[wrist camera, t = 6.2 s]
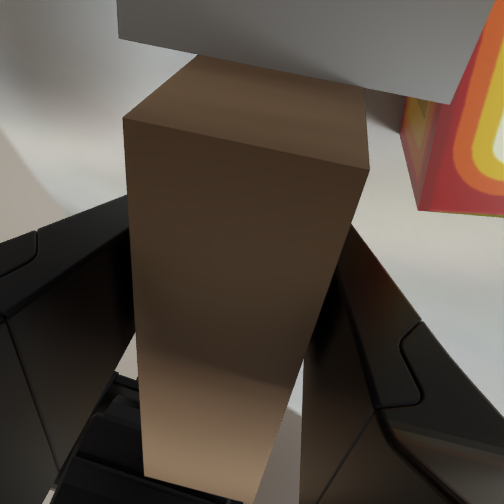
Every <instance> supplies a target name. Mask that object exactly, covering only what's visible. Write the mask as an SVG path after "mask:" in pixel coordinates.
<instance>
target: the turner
mask: <svg viewBox="0 0 504 504" xmlns="http://www.w3.org/2000/svg"><path fill="white" fill-rule="evenodd" d="M494 3H495V0H117V17H118V34H119V39H123V40H128V41H133V42H138V43H143V44H148V45H153V46H158V47H163V48H168V49H173V50H178V51H183V52H188V53H193V54H198V55H197V56H196V57H195V58H194V59H193V60H191V61H190V62H189V63H188V64H186V65H185V66H184V67H183V68H182V69H180V70H179V71H178V72H177V73H176V74H174V75H173V76H172V77H171V78H170V79H168V80H167V81H166V82H165V83H164V84H162V85H161V86H160V87H159V88H158V89H156V90H155V91H154V92H153V93H152V94H150V95H149V96H148V97H147V98H146V99H144V100H143V101H142V102H141V103H139V104H138V105H137V106H136V107H135V108H133V109H132V110H131V111H130V112H129V113H127V114H126V115H125V116H124V117H123V134H124V150H125V167H126V183H127V200H128V216H129V232H130V249H131V265H132V282H133V298H134V315H135V331H136V348H137V363H138V381H139V397H140V414H141V430H142V446H143V463H144V476H147V477H150V478H154V479H158V480H162V481H165V482H169V483H173V484H177V485H180V486H184V487H188V488H192V489H195V490H199V491H203V492H207V493H211V494H214V495H218V496H222V497H226V498H229V499H233V500H237V501H241V502H245V503H248V504H253V501H254V498H255V495H256V493H257V490H258V487H259V484H260V481H261V479H262V475H263V473H264V470H265V467H266V464H267V461H268V459H269V456H270V453H271V450H272V447H273V444H274V442H275V439H276V436H277V433H278V430H279V427H280V424H281V422H282V419H283V416H284V413H285V410H286V407H287V405H288V402H289V399H290V396H291V393H292V390H293V387H294V385H295V382H296V379H297V376H298V373H299V370H300V367H301V365H302V362H303V359H304V356H305V353H306V350H307V348H308V345H309V342H310V339H311V336H312V333H313V330H314V328H315V325H316V322H317V319H318V316H319V313H320V311H321V308H322V305H323V302H324V299H325V296H326V293H327V291H328V288H329V285H330V282H331V279H332V276H333V274H334V271H335V268H336V265H337V262H338V259H339V256H340V254H341V251H342V248H343V245H344V242H345V239H346V237H347V234H348V231H349V228H350V225H351V222H352V219H353V217H354V214H355V211H356V208H357V205H358V202H359V199H360V197H361V194H362V191H363V188H364V185H365V182H366V180H367V177H368V174H369V171H370V165H369V151H368V138H367V124H366V110H365V96H364V88H368V89H373V90H378V91H383V92H388V93H393V94H398V95H403V96H408V97H413V98H418V99H423V100H428V101H433V102H438V103H443V104H448V105H450V103H451V101H452V98H453V96H454V94H455V92H456V89H457V87H458V85H459V82H460V80H461V78H462V76H463V73H464V71H465V69H466V67H467V64H468V62H469V60H470V57H471V55H472V53H473V51H474V48H475V46H476V44H477V41H478V39H479V37H480V35H481V32H482V30H483V28H484V25H485V23H486V21H487V19H488V16H489V14H490V12H491V9H492V7H493V5H494Z"/></svg>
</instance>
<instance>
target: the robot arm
mask: <svg viewBox="0 0 504 504" xmlns="http://www.w3.org/2000/svg"><path fill="white" fill-rule="evenodd" d="M421 320H422V319H421V317H420V316H419V315H418V313H417V312H416V311H415V309H414V308H413V307H412V305H411V304H410V303H409V301H408V300H407V298H406V297H405V296H404V294H403V293H402V292H401V290H400V289H399V288H398V286H397V285H396V284H395V282H394V281H393V280H392V278H391V277H390V275H389V274H388V273H387V271H386V270H385V269H384V267H383V266H382V265H381V263H380V262H379V261H378V259H377V258H376V256H375V255H374V254H373V252H372V251H371V250H370V248H369V247H368V246H367V244H366V243H365V242H364V240H363V239H362V238H361V236H360V235H359V233H358V232H357V231H356V229H355V228H354V227H353V225H352V224H351V225H350V228H349V231H348V234H347V237H346V239H345V242H344V245H343V248H342V251H341V254H340V256H339V259H338V262H337V265H336V268H335V271H334V274H333V276H332V279H331V282H330V285H329V288H328V291H327V293H326V296H325V299H324V302H323V305H322V308H321V311H320V313H319V316H318V319H317V322H316V325H315V328H314V330H313V333H312V336H311V339H310V342H309V345H308V348H307V350H306V353H305V356H304V369H303V400H302V432H301V462H300V493H299V504H504V417H503V416H502V415H501V414H500V413H499V411H498V410H497V409H496V408H495V407H494V406H493V405H492V404H491V403H490V401H489V400H488V399H487V398H486V397H485V396H484V395H483V394H482V392H481V391H480V390H479V389H478V388H477V387H476V386H475V385H474V384H473V382H472V381H471V380H470V379H469V378H468V377H467V375H466V374H465V373H464V372H463V371H462V370H461V368H460V367H459V366H458V365H457V364H456V363H455V361H454V360H453V359H452V358H451V357H450V355H449V354H448V353H447V351H446V350H445V349H444V348H443V346H442V345H441V344H440V343H439V341H438V340H437V339H436V337H435V336H434V335H433V333H432V332H431V331H430V329H429V328H428V327H427V325H426V324H425V323H424V322H423V321H421ZM135 332H136V331H135V315H134V298H133V282H132V265H131V249H130V232H129V216H128V200H127V195H125V196H122V197H119V198H117V199H114V200H112V201H109V202H107V203H104V204H101V205H99V206H96V207H94V208H91V209H88V210H86V211H83V212H81V213H78V214H75V215H73V216H70V217H68V218H65V219H62V220H60V221H57V222H55V223H52V224H49V225H47V226H44V227H42V228H39V229H38V230H37V231H31V232H29V233H26V234H24V235H21V236H19V237H16V238H13V239H10V240H7V241H5V242H2V243H0V504H42V503H43V501H44V499H45V497H46V495H47V494H48V492H49V490H53V491H55V493H54V495H53V497H52V500H51V502H50V504H243V502H241V501H237V500H233V499H229V498H226V497H222V496H218V495H214V494H211V493H207V492H203V491H199V490H195V489H192V488H188V487H184V486H180V485H177V484H173V483H169V482H165V481H162V480H158V479H154V478H150V477H147V476H144V463H143V446H142V430H141V414H140V397H139V381H138V377H137V379H136V380H134V379H131V378H128V377H125V376H122V375H119V373H118V372H116V371H114V370H115V369H116V367H117V365H118V363H119V361H120V359H121V358H122V356H123V354H124V352H125V350H126V348H127V346H128V345H129V343H130V341H131V339H132V337H133V335H134V334H135Z"/></svg>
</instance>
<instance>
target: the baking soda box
mask: <svg viewBox="0 0 504 504" xmlns="http://www.w3.org/2000/svg"><path fill="white" fill-rule="evenodd" d="M400 138H401V142H402V147H403V151H404V155H405V159H406V163H407V167H408V172H409V176H410V180H411V184H412V188H413V192H414V197H415V201H416V205H417V209H418V210H419V211H431V212H442V213H454V214H466V215H478V216H490V217H502V218H504V0H495V3H494V5H493V7H492V9H491V12H490V14H489V16H488V19H487V21H486V23H485V25H484V28H483V30H482V32H481V35H480V37H479V39H478V41H477V44H476V46H475V48H474V51H473V53H472V55H471V57H470V60H469V62H468V64H467V67H466V69H465V71H464V73H463V76H462V78H461V80H460V82H459V85H458V87H457V89H456V92H455V94H454V96H453V98H452V101H451V103H450V105H448V104H443V103H438V102H433V101H428V100H423V99H418V98H413V97H408V96H406V99H405V105H404V111H403V117H402V123H401V129H400Z"/></svg>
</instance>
